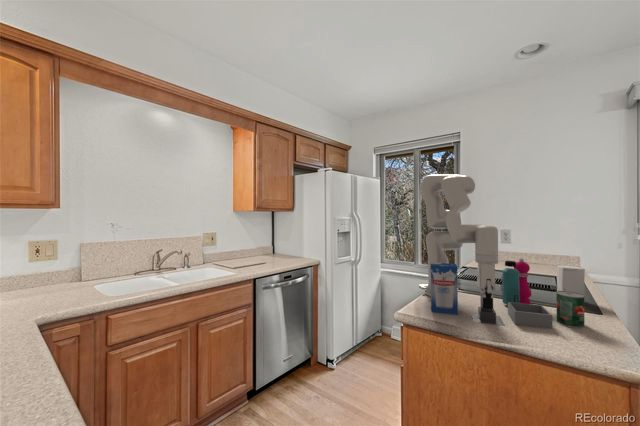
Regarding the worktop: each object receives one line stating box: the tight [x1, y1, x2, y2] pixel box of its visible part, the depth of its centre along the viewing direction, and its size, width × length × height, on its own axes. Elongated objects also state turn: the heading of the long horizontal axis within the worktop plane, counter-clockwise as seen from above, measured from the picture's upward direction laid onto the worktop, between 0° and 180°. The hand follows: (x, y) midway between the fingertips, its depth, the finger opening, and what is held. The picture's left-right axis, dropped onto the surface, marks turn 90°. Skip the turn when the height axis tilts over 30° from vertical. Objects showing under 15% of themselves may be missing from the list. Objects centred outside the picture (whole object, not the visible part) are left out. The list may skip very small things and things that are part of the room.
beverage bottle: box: [501, 260, 520, 306], centre depth 124 cm, size 6×7×20 cm
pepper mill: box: [513, 258, 532, 304], centre depth 130 cm, size 7×7×20 cm
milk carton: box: [430, 263, 459, 315], centre depth 118 cm, size 10×6×20 cm, turn 70°
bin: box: [507, 302, 553, 330], centre depth 106 cm, size 11×11×6 cm
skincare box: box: [556, 264, 586, 296], centre depth 131 cm, size 8×7×16 cm
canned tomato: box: [555, 290, 586, 329], centre depth 106 cm, size 8×8×11 cm
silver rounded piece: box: [477, 290, 497, 322], centre depth 109 cm, size 5×5×10 cm
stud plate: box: [470, 312, 506, 327], centre depth 109 cm, size 10×10×4 cm
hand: (486, 305), depth 109 cm, fingers closed on silver rounded piece, 4 cm apart
